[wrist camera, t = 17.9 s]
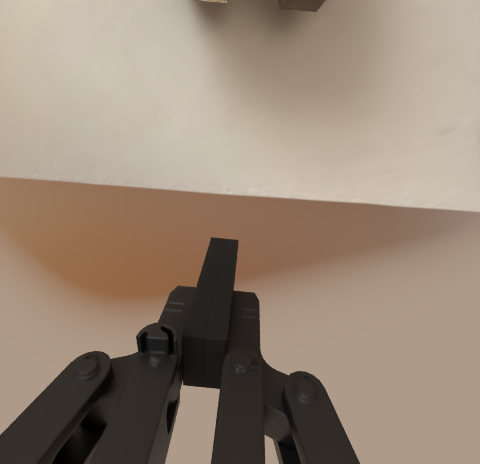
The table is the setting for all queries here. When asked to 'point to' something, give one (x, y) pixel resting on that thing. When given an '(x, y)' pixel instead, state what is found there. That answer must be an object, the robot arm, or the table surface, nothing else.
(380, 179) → the table surface
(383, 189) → the table surface
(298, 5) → the black key
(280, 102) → the table surface
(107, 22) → the table surface
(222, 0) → the ivory key
